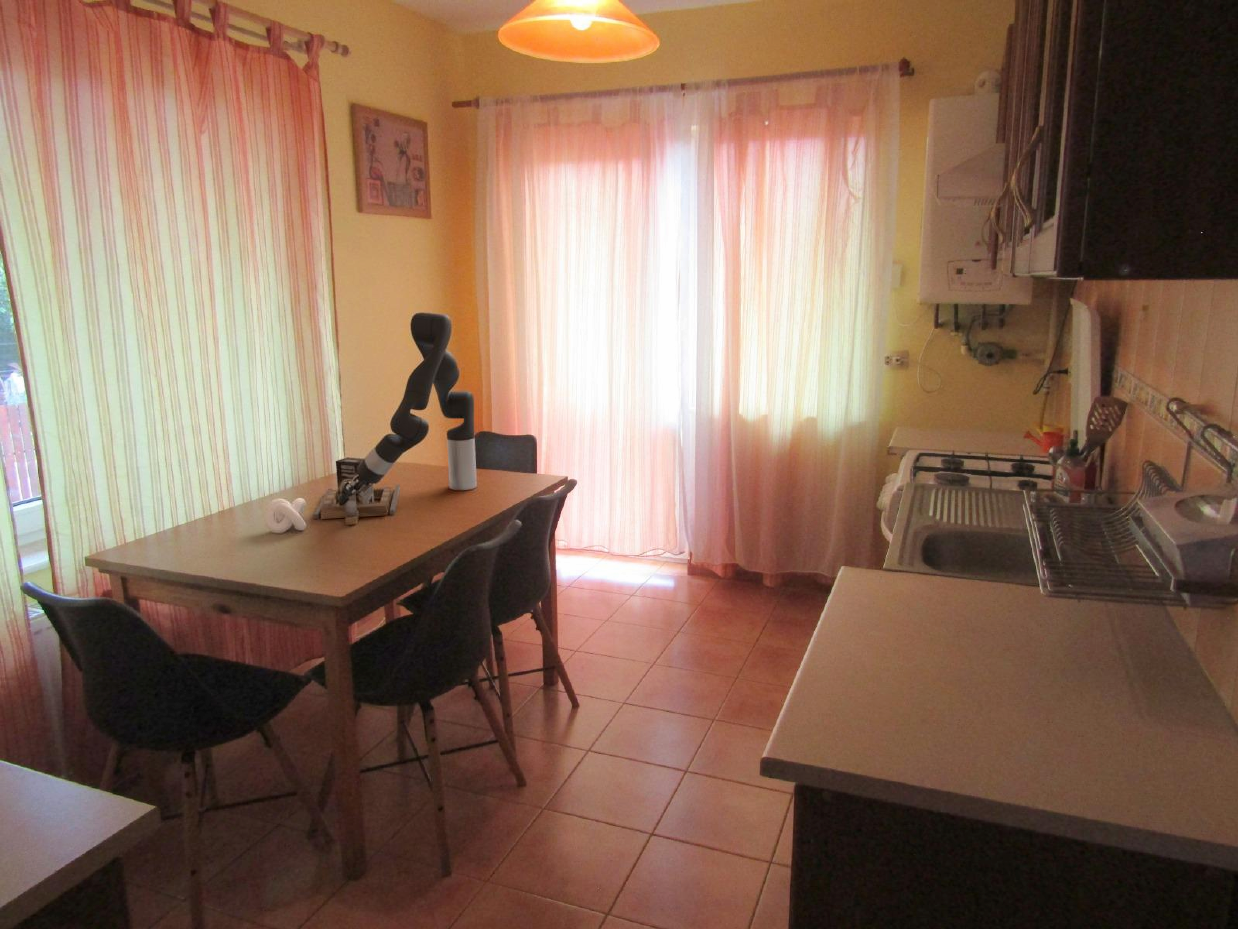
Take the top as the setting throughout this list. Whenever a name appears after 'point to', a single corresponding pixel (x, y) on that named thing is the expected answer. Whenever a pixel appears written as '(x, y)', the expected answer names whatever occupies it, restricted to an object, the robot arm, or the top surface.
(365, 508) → the frame
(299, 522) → the white knot sculpture
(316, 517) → the guide rails
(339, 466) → the coffee box
